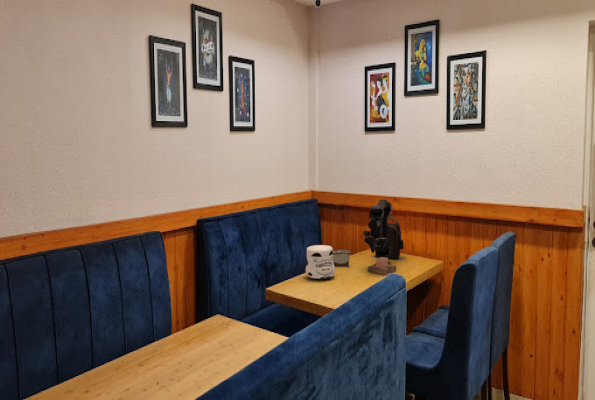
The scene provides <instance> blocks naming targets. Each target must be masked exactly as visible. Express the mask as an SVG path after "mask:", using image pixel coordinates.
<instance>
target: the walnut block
mask: <svg viewBox="0 0 595 400" xmlns="http://www.w3.org/2000/svg"><path fill="white" fill-rule="evenodd" d="M395 272H397V266H396V265H393V264H390V263H389V264H388V266H387V267H384V268H381V267H376V263H374V264H371V265H368V266H367V273H371V274H374V275H378V276H379V275H380V276H387V275H390V274H393V273H395ZM389 273H390V274H389Z"/></svg>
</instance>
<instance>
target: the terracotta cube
mask: <svg viewBox="0 0 595 400" xmlns="http://www.w3.org/2000/svg"><path fill="white" fill-rule="evenodd" d="M375 258H376V261H375V264H376V267H381V268H384V267H387V266H388V262H389V259H388V258H384V257H379V258H378V257H375Z"/></svg>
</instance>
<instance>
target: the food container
mask: <svg viewBox="0 0 595 400" xmlns="http://www.w3.org/2000/svg"><path fill="white" fill-rule="evenodd" d="M351 254H352V253H351V251H350V250H347V249H337V250H336V249H335V250H333V263H334V267H335V268H349V265H350V256H351Z"/></svg>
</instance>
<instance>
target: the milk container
mask: <svg viewBox="0 0 595 400" xmlns="http://www.w3.org/2000/svg"><path fill="white" fill-rule="evenodd" d="M333 251H334V250H333V247H332V246H331V245H327V244H315V245H311V246H308V247H307V248H306V265H305V274H306V276H307V277H308V278H309V279H312V280H318V281H320V280H321V281H322V280H328V279H332V277H334V276H335V272H336V271H335V270H336V267H334V263H333Z"/></svg>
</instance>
